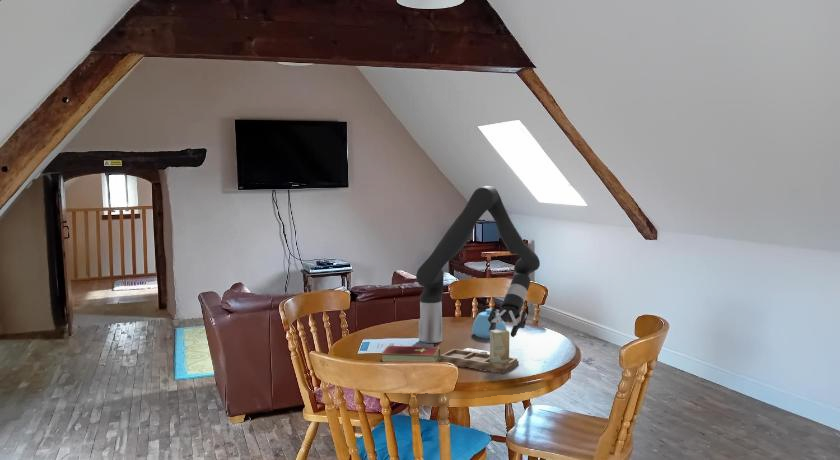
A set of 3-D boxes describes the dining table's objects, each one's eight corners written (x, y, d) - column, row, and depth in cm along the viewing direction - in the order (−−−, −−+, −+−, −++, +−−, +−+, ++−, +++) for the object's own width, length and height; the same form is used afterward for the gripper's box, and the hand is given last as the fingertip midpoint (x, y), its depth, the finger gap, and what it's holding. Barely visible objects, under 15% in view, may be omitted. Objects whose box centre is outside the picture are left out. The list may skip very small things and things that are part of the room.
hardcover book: (388, 355, 255) (387, 344, 255) (440, 356, 252) (439, 346, 251) (381, 363, 244) (380, 353, 243) (435, 365, 240) (435, 354, 240)
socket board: (438, 363, 242) (438, 356, 241) (455, 354, 252) (455, 348, 252) (503, 374, 227) (503, 366, 226) (518, 364, 238) (518, 357, 237)
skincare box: (493, 365, 232) (493, 332, 231) (489, 362, 236) (489, 330, 235) (510, 364, 233) (510, 331, 232) (505, 360, 238) (505, 328, 237)
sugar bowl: (508, 339, 275) (508, 312, 274) (473, 339, 275) (473, 313, 274) (504, 330, 290) (504, 305, 289) (471, 331, 290) (471, 306, 289)
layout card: (458, 353, 254) (458, 351, 254) (467, 349, 260) (467, 347, 260) (485, 357, 247) (485, 355, 247) (493, 353, 253) (493, 351, 253)
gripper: (494, 291, 246) (481, 326, 237) (529, 294, 238) (516, 331, 229) (501, 302, 251) (487, 337, 242) (535, 306, 243) (522, 342, 234)
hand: (501, 334), depth 236 cm, fingers open, 8 cm apart
